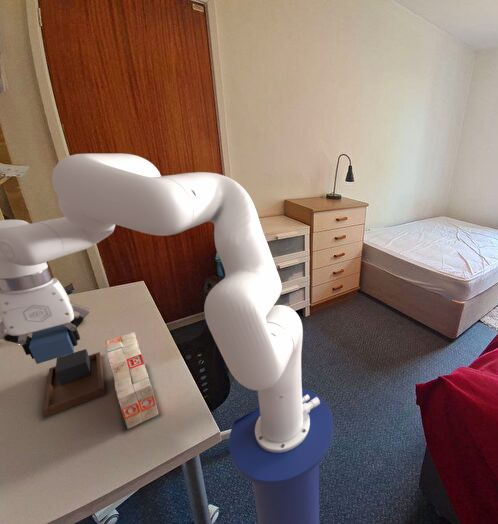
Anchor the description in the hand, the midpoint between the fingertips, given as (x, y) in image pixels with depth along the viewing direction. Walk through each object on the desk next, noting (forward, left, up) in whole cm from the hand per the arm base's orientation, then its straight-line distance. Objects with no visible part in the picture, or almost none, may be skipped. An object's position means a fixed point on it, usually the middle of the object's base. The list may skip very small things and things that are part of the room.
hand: (55, 348), depth 65 cm
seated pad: (0, -10, -15) cm, 18 cm away
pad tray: (0, -6, -15) cm, 16 cm away
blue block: (0, 0, -1) cm, 1 cm away
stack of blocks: (-12, +8, -15) cm, 21 cm away
